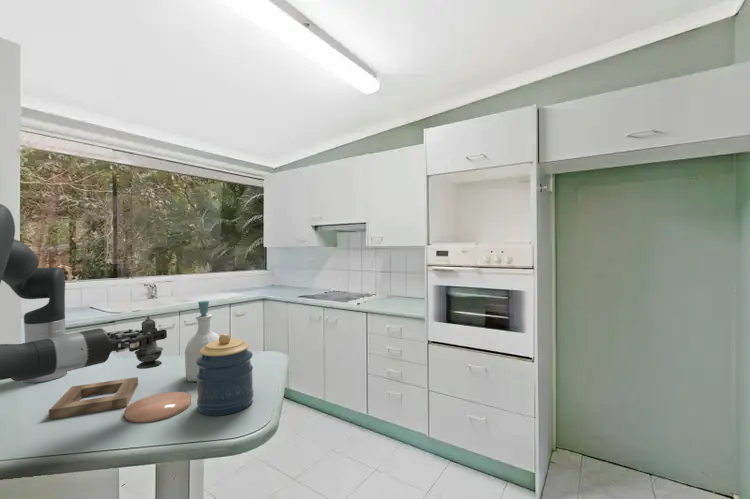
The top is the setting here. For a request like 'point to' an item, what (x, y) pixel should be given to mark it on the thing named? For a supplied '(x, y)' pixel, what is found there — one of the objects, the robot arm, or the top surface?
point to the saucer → (157, 407)
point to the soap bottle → (198, 341)
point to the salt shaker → (149, 348)
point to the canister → (224, 376)
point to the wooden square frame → (73, 406)
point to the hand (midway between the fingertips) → (160, 332)
